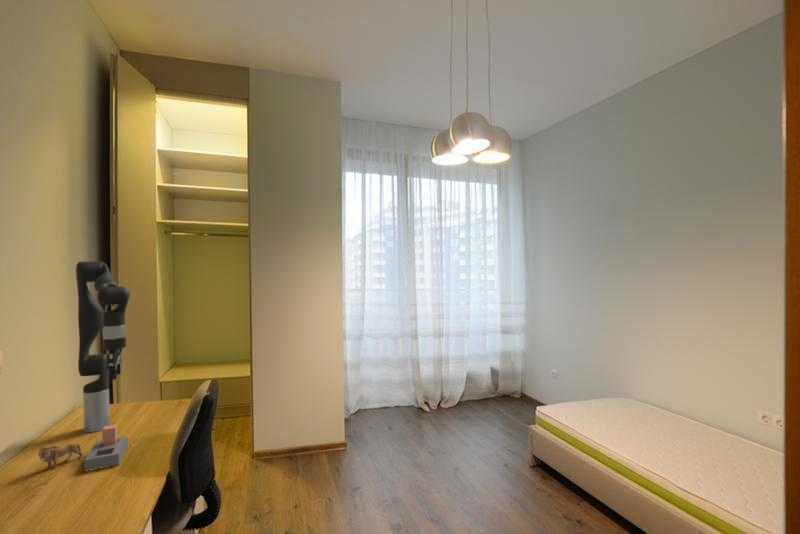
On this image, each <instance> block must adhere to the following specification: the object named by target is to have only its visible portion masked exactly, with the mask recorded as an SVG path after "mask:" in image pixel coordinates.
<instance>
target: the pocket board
mask: <svg viewBox="0 0 800 534" xmlns="http://www.w3.org/2000/svg"><path fill="white" fill-rule="evenodd" d="M128 438H129V437H128V435H123V436H117V444H113V445H107V446H103V439H102V440H101V439H99V440H97V441H96V442H95V444H94V445H93V447H92V448H91V450H90V451H89V452H88V454H87V455H86V457H85V458H84V460H83V462H84V465H83V466H84V468H83V469H84V471H86V470H90V469H95V468H100V467H106V466H111V467H113V466H112V465H117V466H120V464H119V463H121V462H120V461H122V459H123V457H124V455H125V454H126V453H125V452H126V450H127V448H128V446H129V439H128ZM106 468H107V467H106ZM86 472H87V471H86Z"/></svg>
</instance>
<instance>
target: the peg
mask: <svg viewBox="0 0 800 534" xmlns="http://www.w3.org/2000/svg"><path fill="white" fill-rule="evenodd" d="M101 432H102V440H103V446H107V445H113V444H117V438H118V424H112V425H110V426H105V427H104V428H103V430H101Z"/></svg>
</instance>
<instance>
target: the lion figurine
mask: <svg viewBox="0 0 800 534" xmlns="http://www.w3.org/2000/svg"><path fill="white" fill-rule="evenodd" d="M37 453H38V458H39V460H40V461H42V462H45V463H47V466H46V470H48V469H50V468H51V467H52V465H53V467H52V470H56V469H58V461H59V458H63V457H64V456H66V455H67V454H68V457H67V458H66V459H65V461H70V460H71V458H72V457H73V456H74V455H73V454H76V455H79V456H78V457H77V459H78V460H80V458H81V459H82V458H83V455H84V452H82V449H81V446H80V444H79V443H78V442H75V441H72V442H71V441H70V442H68V443H66V444H64V445H62V446H55V445H48V444H47V445H43V446H42V447H41V448H39V450H38V452H37ZM52 462H53V463H52Z"/></svg>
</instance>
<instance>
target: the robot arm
mask: <svg viewBox="0 0 800 534" xmlns="http://www.w3.org/2000/svg"><path fill="white" fill-rule="evenodd" d="M75 275H76V277H75V278H76V286H77V294H78V295H77V297H78V298H77V299H78V304H77V305H78V310H77V311H78V313H77V316H78V317H77V319H78V323H77V324H78V337H79V340H78V341H79V346H78V347H79V348H78V366H77V367H78V374H79V376H81V377H90V376H91V377H92V376H98V378H97V379H95V380H93V381H91V382H88V383H86V384H85V385H84V386H83V390H82V391H83V392H82V393H83V394H82V398H83V402H82V403H83V431H84V432H85V433H95V432H98V431H102V429H103V428H104V427H105V426H109V425H110V381H113V380H115V381H116V380H117V376H119V375H120V374H121V373H122V369H121V367H122V362H123V353H122V352H123V351H122V350H123V349H124V348H126V346H127V331H126V318H125V316H126V309H127V306H128V303H129V300H130V297H131V295H130V294H131V292H130V290H129V289H128V287H126V286H119V285H118V284H117V283H116V282H115V281H114V279H113V278H112V274H111V272H110V268H109V267H108V265H107V263H105V262H103V261H79V262H78V263H77V264H76V267H75ZM88 283H93V284H94V286H93V287H94V288H95V289H94V290H96V291H97V299H96V298H95V297H94V296H93V295H92V293H91V292H90V290H89V287H88ZM102 305H103V306H110V305H112V306H113V305H117V306H116V308H114V309H111V310H107V311H105V310H104V308H103V307H102ZM101 331H102V349H103V350H104V351H109V353H108V354H107V353H97V354H90V350H91V347H92V346H93V345H92V344H93V343H94V341H95V340H96V338H97V337H98V335H99V334H100V333H101Z"/></svg>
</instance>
